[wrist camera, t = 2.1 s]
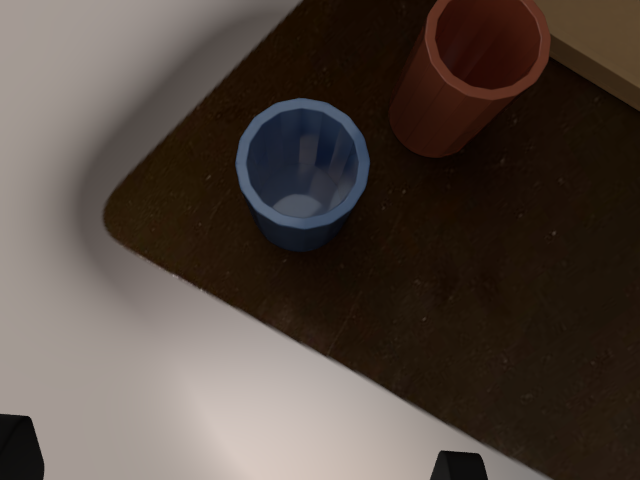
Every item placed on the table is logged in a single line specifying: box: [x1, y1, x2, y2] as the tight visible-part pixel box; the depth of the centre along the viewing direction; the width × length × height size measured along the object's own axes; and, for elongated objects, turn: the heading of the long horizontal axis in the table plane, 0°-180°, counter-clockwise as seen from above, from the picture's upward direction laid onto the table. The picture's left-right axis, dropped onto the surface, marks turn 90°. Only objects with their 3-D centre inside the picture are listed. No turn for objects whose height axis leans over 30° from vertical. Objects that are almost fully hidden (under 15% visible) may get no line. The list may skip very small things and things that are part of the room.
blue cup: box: [235, 98, 370, 252], centre depth 30 cm, size 6×6×10 cm
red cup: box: [388, 0, 551, 158], centre depth 31 cm, size 6×6×10 cm
